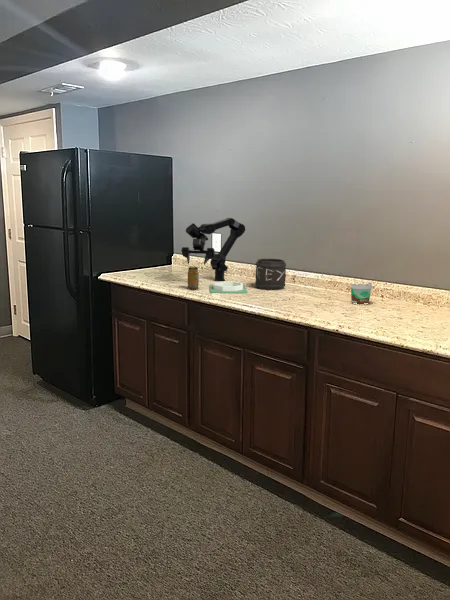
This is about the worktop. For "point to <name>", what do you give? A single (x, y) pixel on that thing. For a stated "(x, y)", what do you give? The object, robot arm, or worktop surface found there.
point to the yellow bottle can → (193, 278)
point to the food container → (360, 293)
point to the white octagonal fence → (228, 286)
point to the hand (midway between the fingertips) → (196, 263)
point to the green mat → (227, 291)
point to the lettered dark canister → (270, 274)
